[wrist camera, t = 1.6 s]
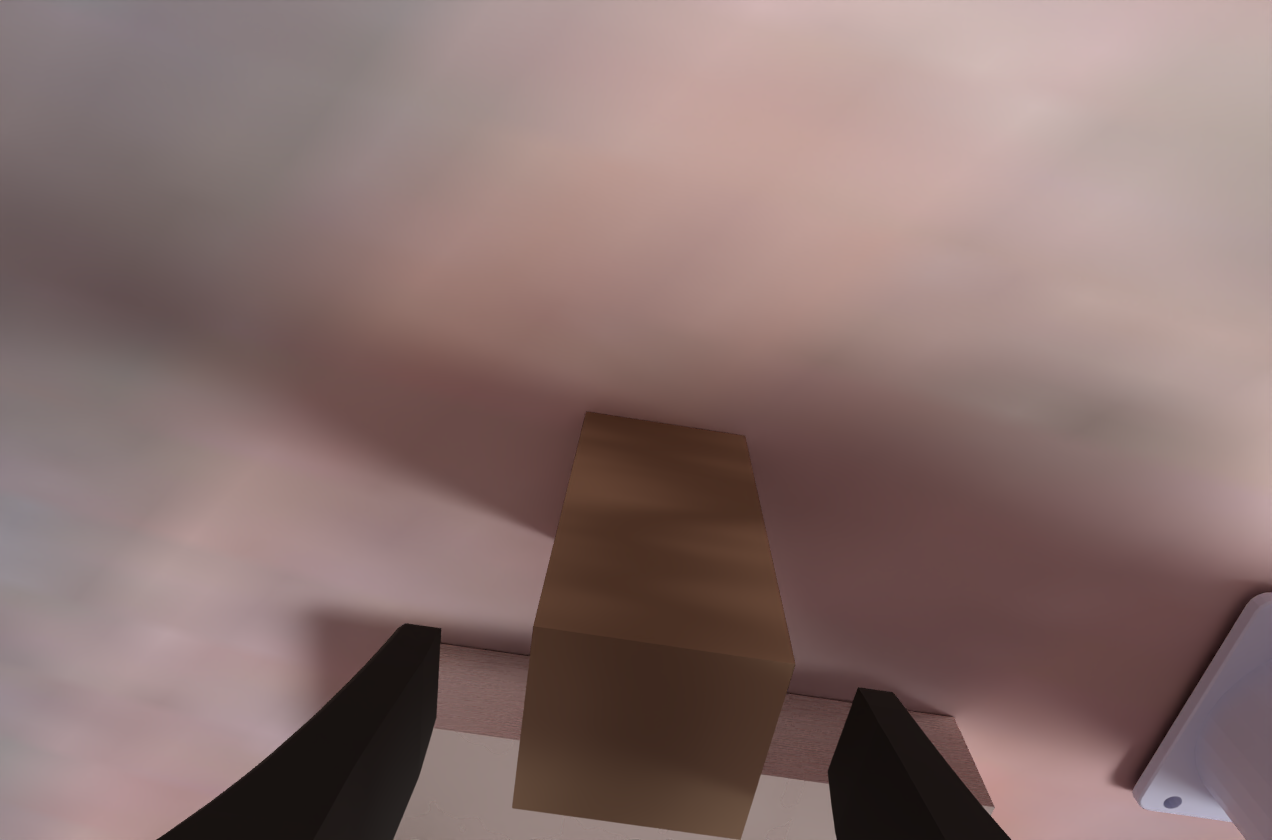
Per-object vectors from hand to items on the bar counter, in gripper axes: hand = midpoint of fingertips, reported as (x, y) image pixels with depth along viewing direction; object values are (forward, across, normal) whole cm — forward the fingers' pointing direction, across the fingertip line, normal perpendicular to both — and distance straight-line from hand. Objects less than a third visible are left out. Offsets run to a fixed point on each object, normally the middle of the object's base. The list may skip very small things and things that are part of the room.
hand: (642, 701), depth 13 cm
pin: (+7, 0, 0) cm, 7 cm away
